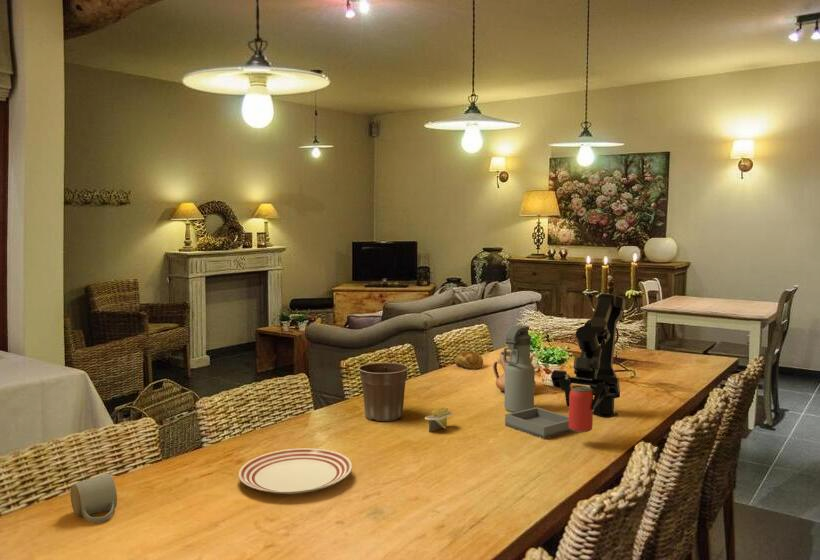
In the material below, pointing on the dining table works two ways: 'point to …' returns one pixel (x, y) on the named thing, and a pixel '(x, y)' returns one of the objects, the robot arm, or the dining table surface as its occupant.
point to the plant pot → (383, 390)
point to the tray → (538, 422)
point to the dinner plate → (295, 470)
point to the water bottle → (519, 371)
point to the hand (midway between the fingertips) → (579, 407)
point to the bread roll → (469, 360)
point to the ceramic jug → (501, 380)
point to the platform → (438, 419)
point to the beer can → (580, 408)
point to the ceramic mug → (94, 497)
